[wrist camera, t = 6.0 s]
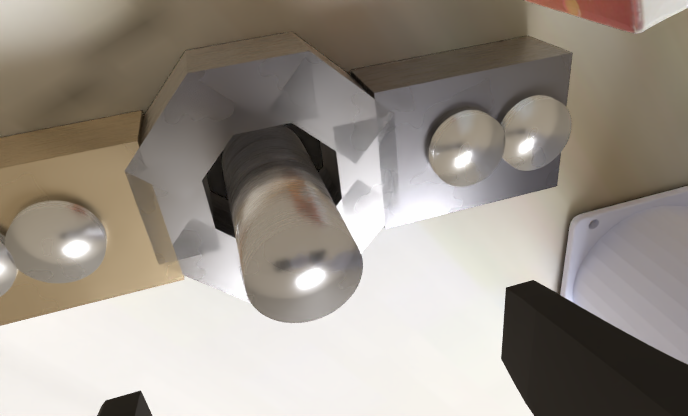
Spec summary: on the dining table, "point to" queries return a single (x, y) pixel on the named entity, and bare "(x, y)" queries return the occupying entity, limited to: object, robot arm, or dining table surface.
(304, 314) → the pin
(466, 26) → the dining table surface
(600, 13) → the small box
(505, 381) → the dining table surface
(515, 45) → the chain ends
